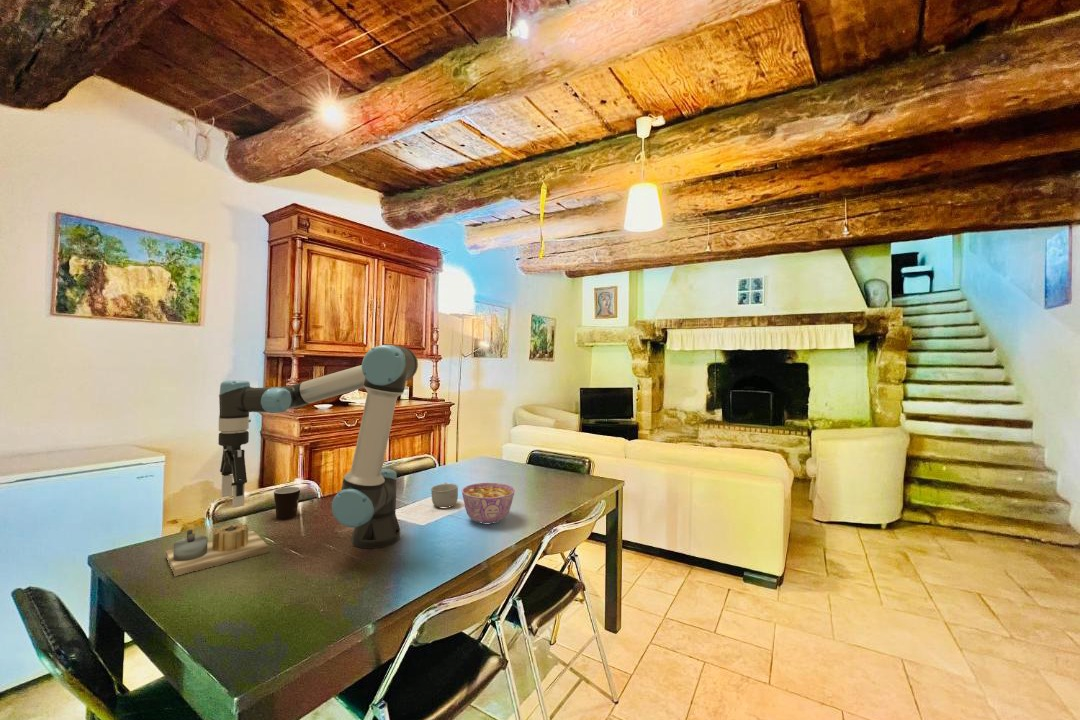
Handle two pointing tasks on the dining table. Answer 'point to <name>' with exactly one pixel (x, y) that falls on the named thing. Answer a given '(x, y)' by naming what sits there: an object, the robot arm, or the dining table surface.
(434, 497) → the teacup
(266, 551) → the birch board
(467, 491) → the bowl of food
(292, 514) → the coffee mug
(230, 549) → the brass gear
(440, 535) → the dining table surface
